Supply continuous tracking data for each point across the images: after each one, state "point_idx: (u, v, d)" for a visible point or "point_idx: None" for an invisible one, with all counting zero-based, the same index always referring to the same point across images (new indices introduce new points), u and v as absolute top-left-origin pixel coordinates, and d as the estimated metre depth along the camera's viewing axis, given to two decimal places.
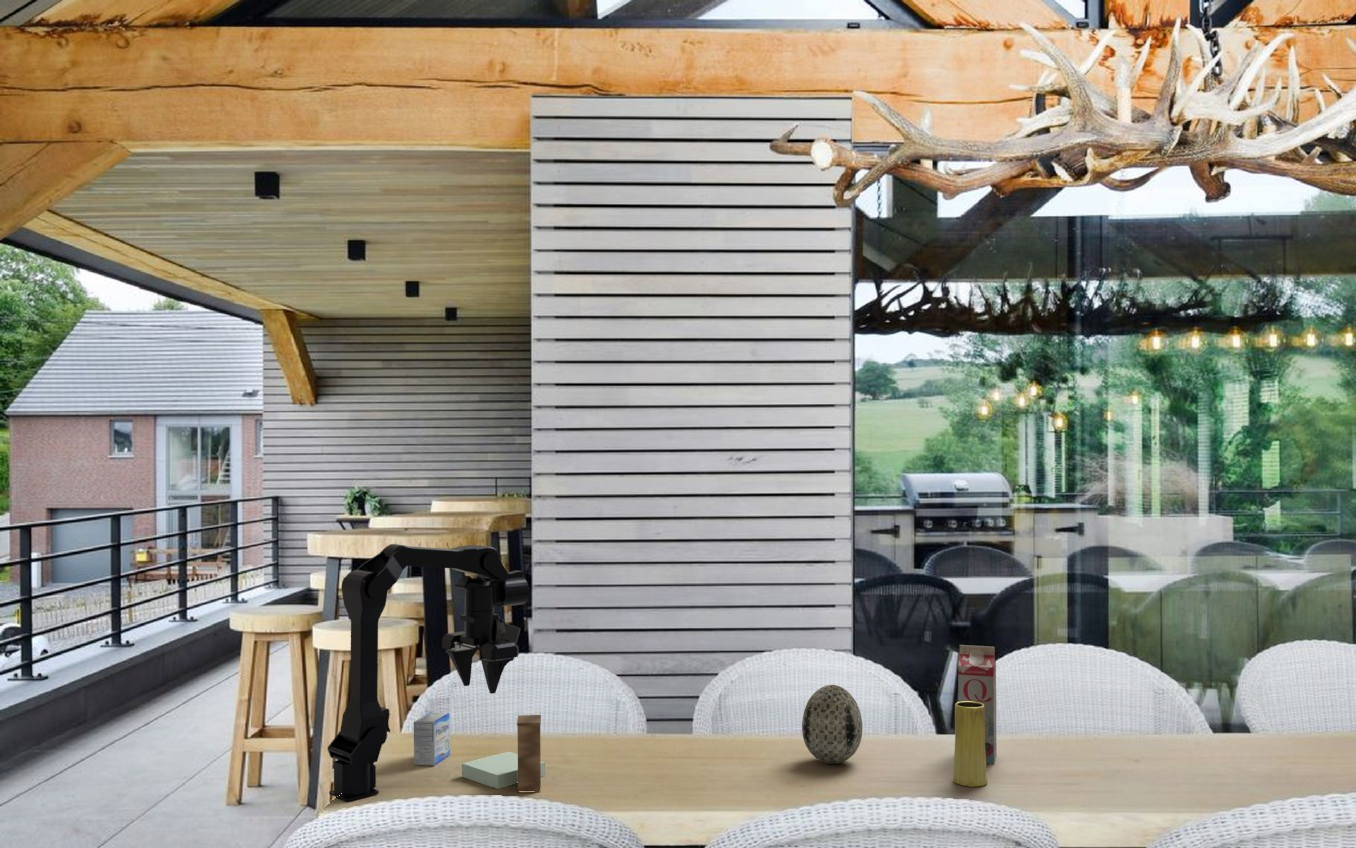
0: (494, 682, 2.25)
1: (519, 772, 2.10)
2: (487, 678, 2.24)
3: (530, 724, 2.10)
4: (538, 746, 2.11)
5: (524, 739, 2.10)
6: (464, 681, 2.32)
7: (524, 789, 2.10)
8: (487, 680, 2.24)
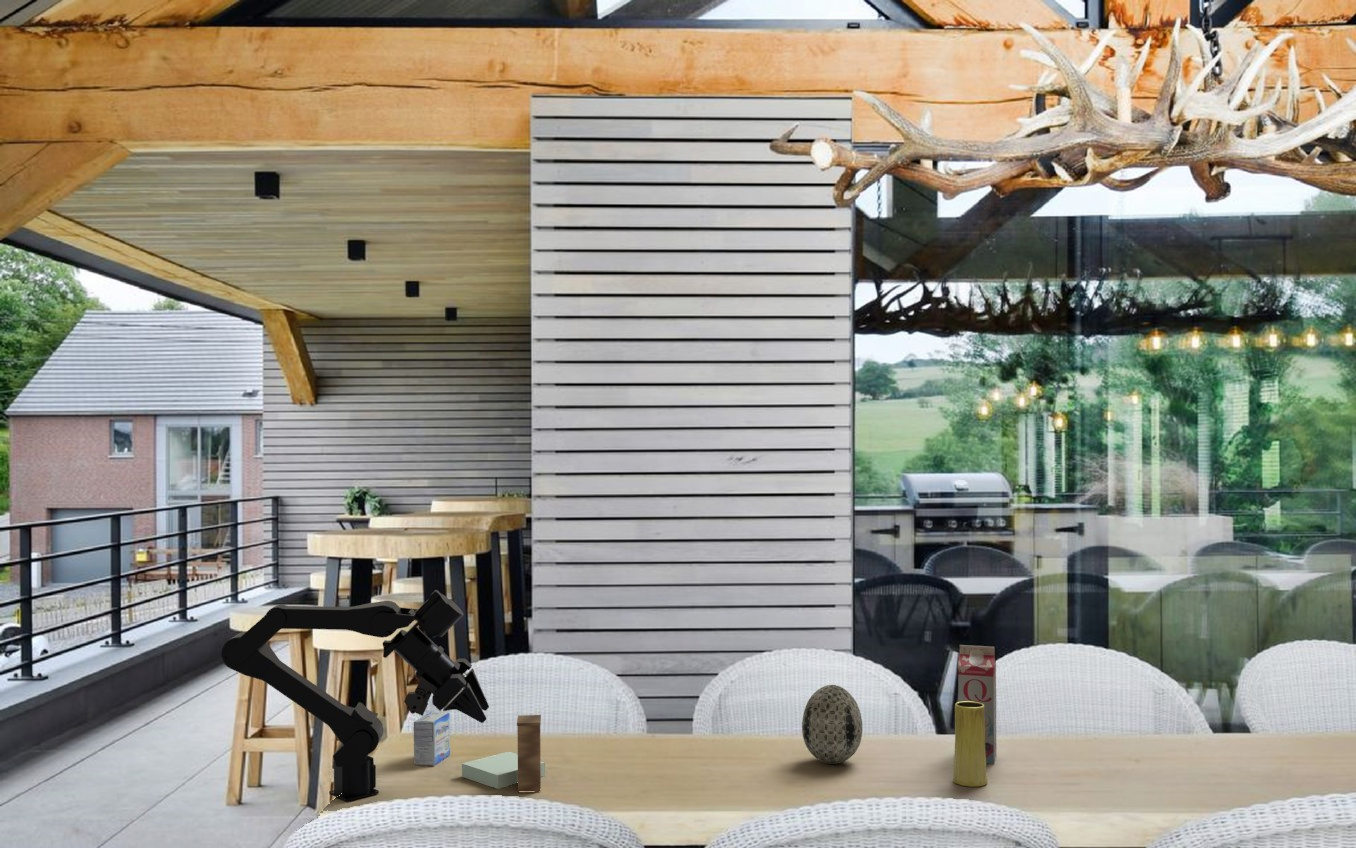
0: None
1: (519, 772, 2.10)
2: (481, 689, 2.18)
3: (530, 724, 2.10)
4: (538, 746, 2.11)
5: (524, 739, 2.10)
6: None
7: (524, 789, 2.10)
8: (482, 692, 2.17)
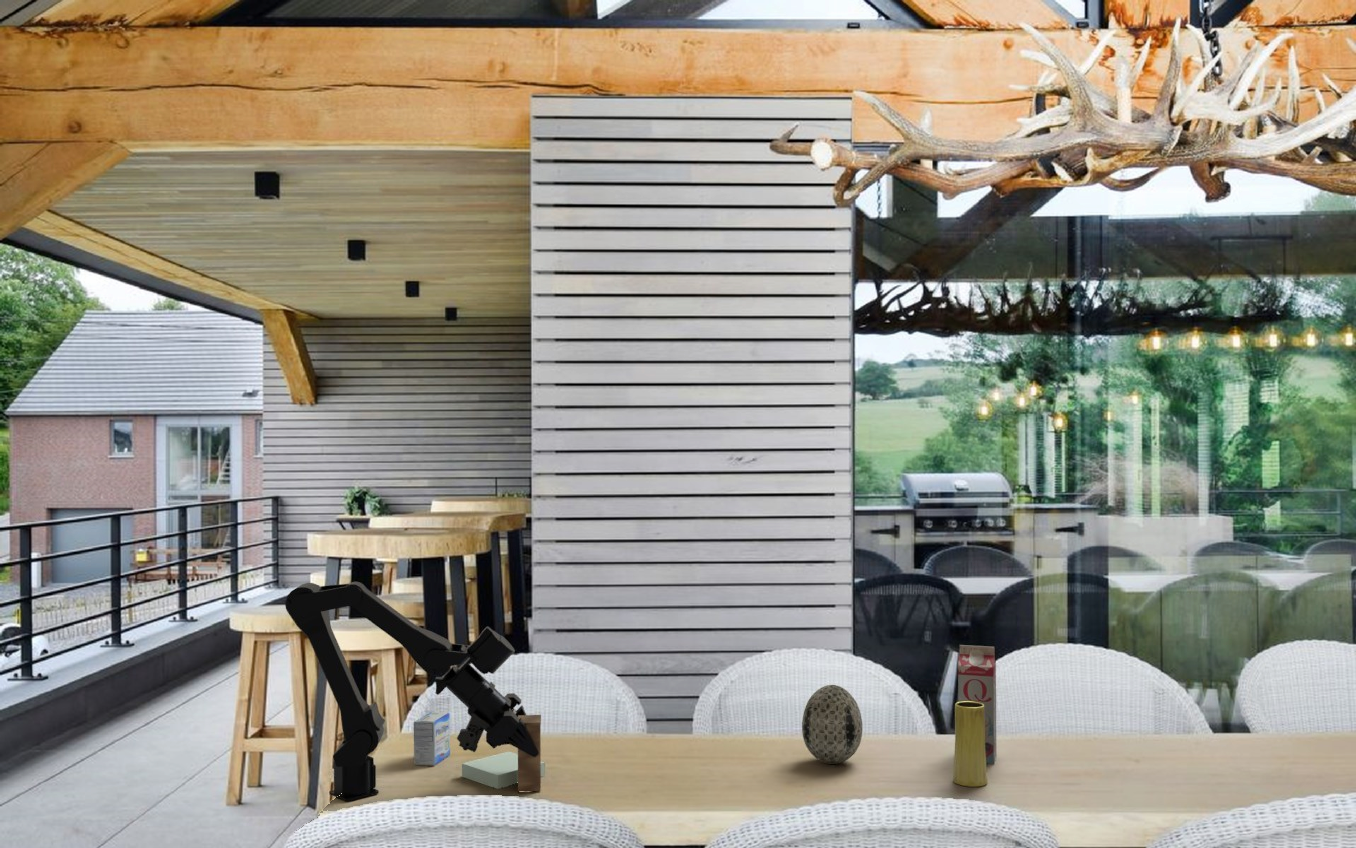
0: None
1: (519, 772, 2.10)
2: None
3: (530, 724, 2.10)
4: (538, 746, 2.11)
5: None
6: None
7: (524, 789, 2.10)
8: None
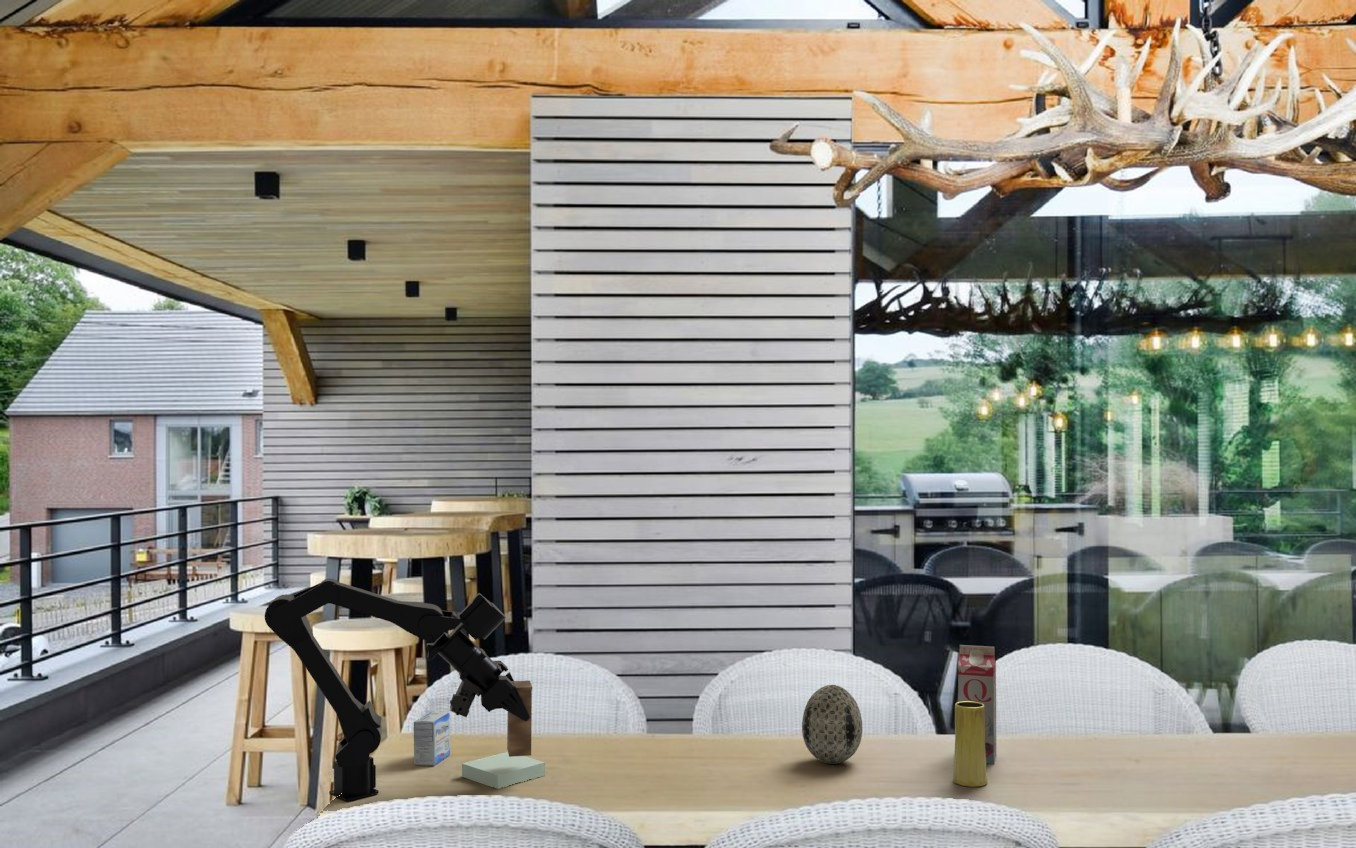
0: None
1: (510, 736, 2.13)
2: None
3: (522, 689, 2.13)
4: (530, 710, 2.14)
5: None
6: None
7: (515, 753, 2.13)
8: None
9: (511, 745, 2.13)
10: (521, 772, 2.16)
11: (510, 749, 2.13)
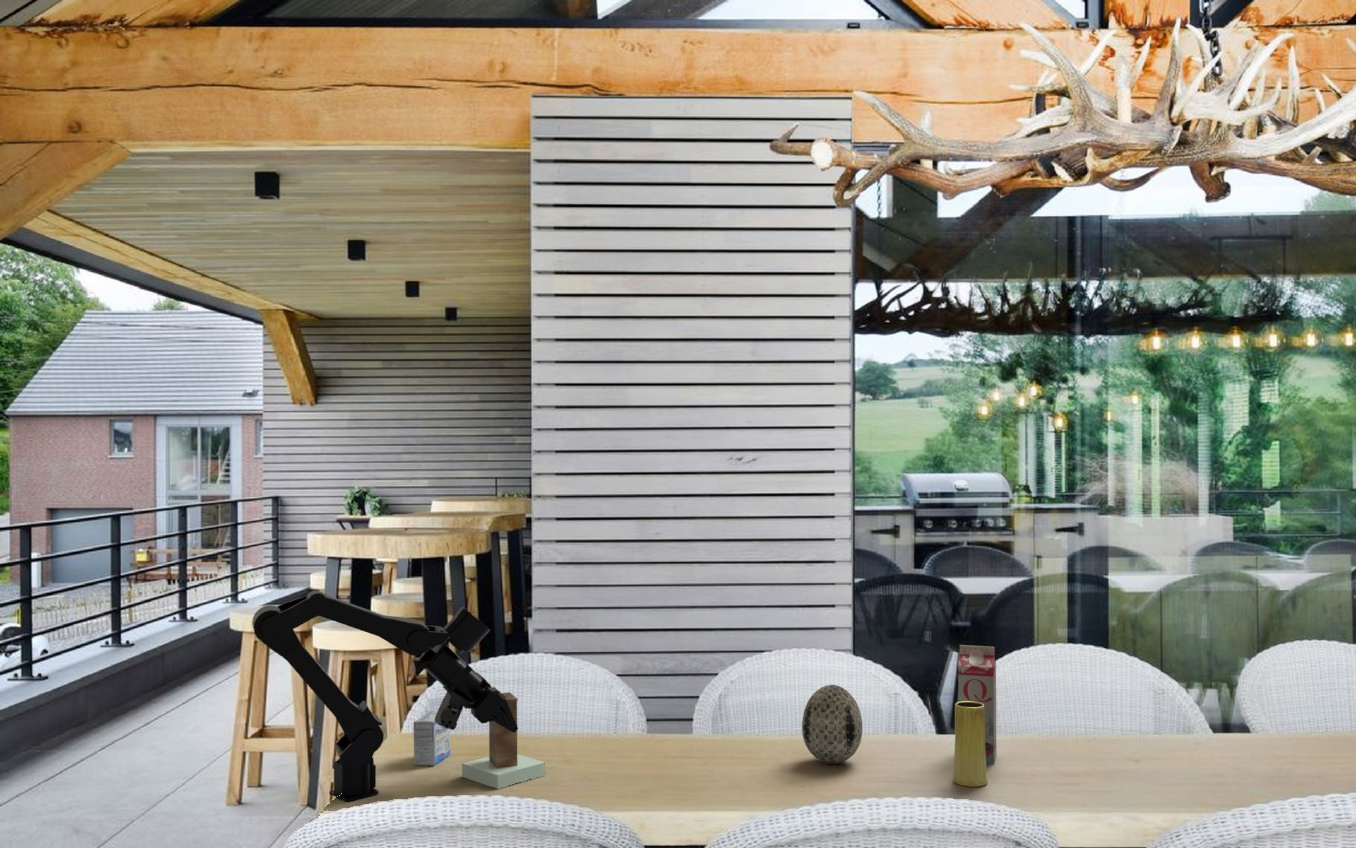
0: None
1: (497, 748, 2.17)
2: None
3: (508, 701, 2.17)
4: None
5: None
6: None
7: (502, 764, 2.17)
8: None
9: (498, 757, 2.17)
10: (521, 772, 2.16)
11: (497, 761, 2.17)
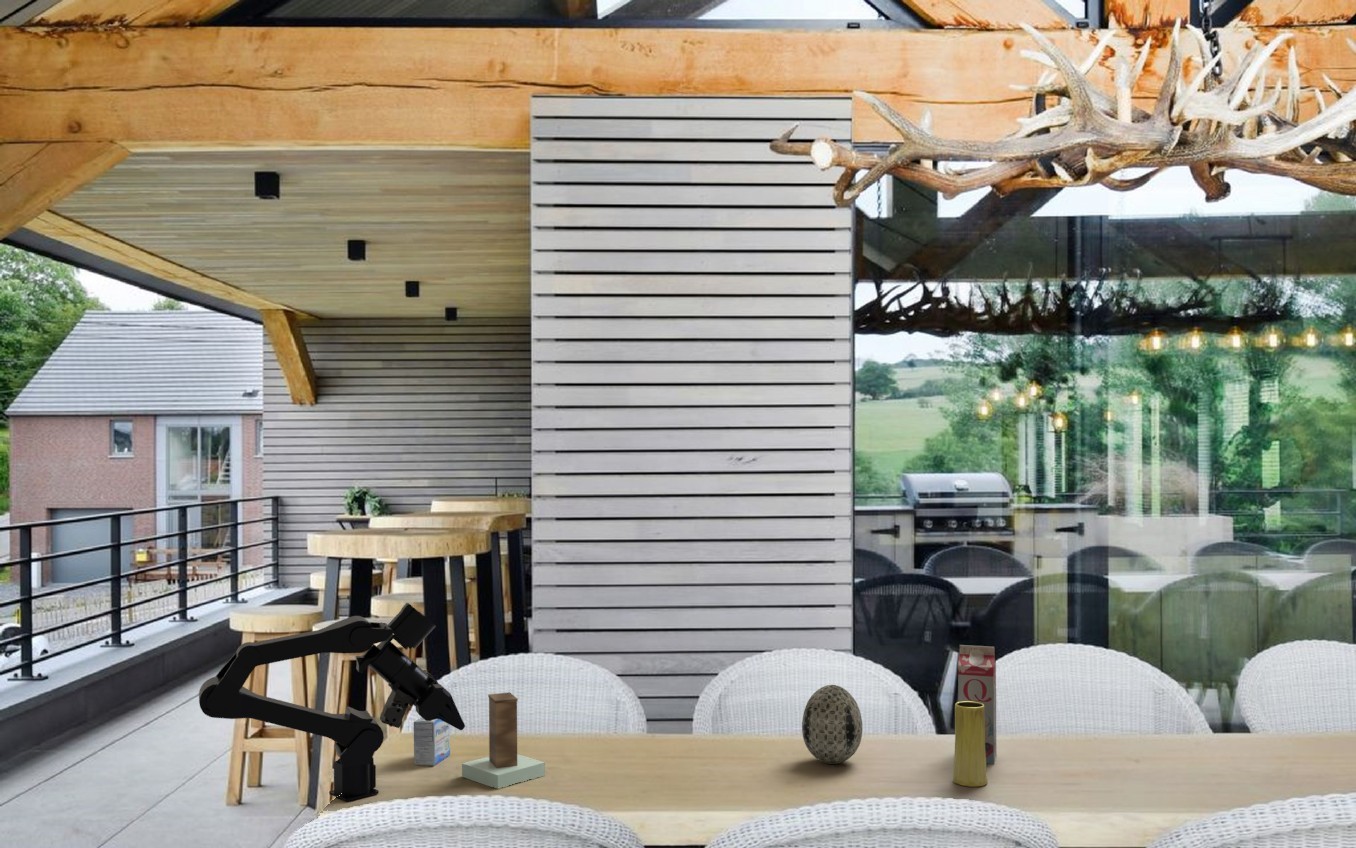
0: None
1: (497, 748, 2.17)
2: None
3: (508, 701, 2.17)
4: (515, 722, 2.18)
5: (502, 715, 2.17)
6: None
7: (502, 764, 2.17)
8: None
9: (498, 757, 2.17)
10: (521, 772, 2.16)
11: (497, 761, 2.17)
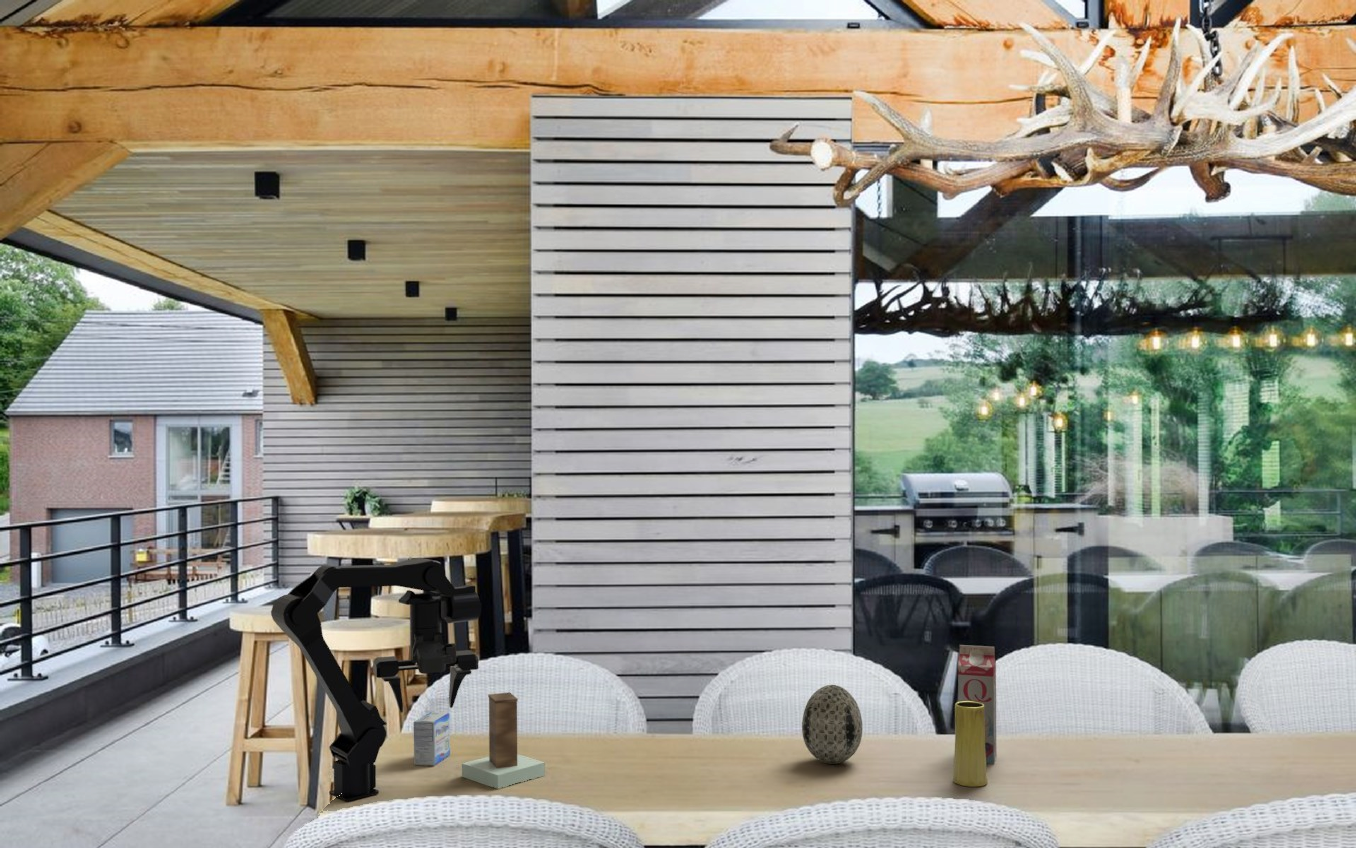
0: (396, 700, 2.17)
1: (497, 748, 2.17)
2: None
3: (508, 701, 2.17)
4: (515, 722, 2.18)
5: (502, 715, 2.17)
6: (450, 701, 2.21)
7: (502, 764, 2.17)
8: None
9: (498, 757, 2.17)
10: (521, 772, 2.16)
11: (497, 761, 2.17)
